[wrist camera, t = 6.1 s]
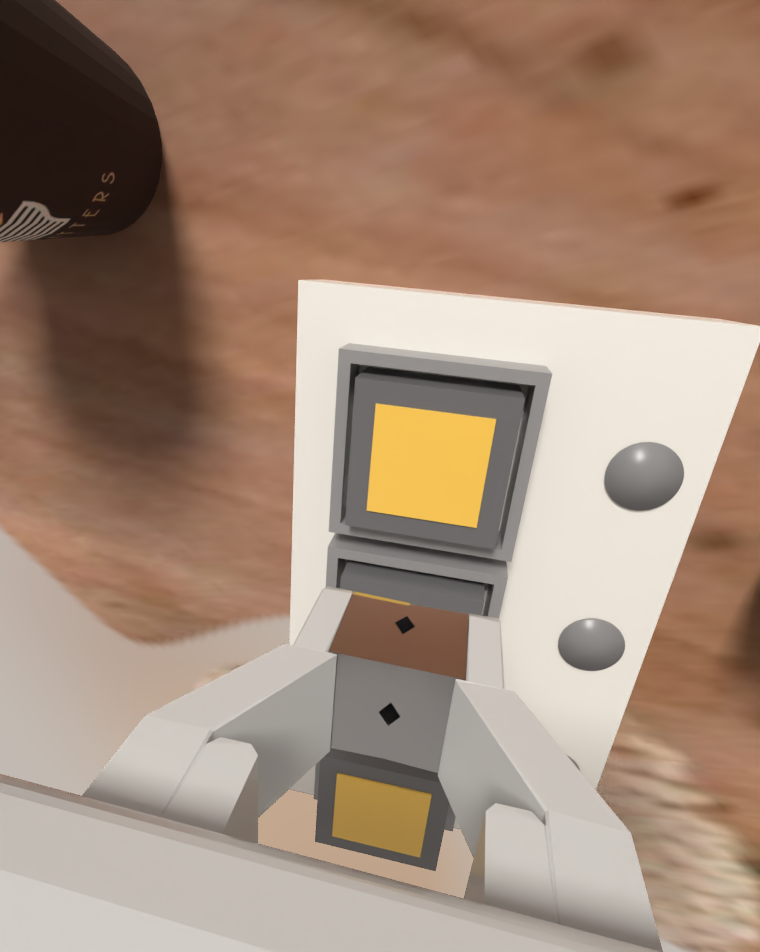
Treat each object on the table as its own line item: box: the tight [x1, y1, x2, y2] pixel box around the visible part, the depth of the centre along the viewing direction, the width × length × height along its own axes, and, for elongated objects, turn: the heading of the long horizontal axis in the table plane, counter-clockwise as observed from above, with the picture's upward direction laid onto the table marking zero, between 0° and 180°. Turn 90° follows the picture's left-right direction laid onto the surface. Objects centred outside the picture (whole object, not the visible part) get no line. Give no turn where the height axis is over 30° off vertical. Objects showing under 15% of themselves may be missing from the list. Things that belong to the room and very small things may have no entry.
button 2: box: [315, 748, 449, 871], centre depth 20 cm, size 5×5×2 cm
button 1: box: [345, 367, 525, 549], centre depth 17 cm, size 5×5×2 cm
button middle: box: [340, 560, 485, 615], centre depth 19 cm, size 5×5×2 cm
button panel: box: [290, 280, 760, 831], centre depth 21 cm, size 14×24×4 cm, turn 175°
